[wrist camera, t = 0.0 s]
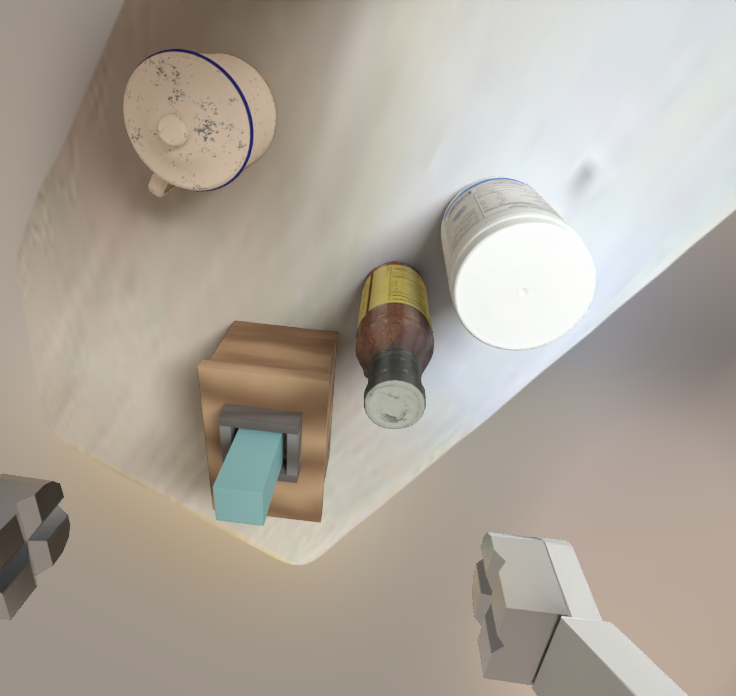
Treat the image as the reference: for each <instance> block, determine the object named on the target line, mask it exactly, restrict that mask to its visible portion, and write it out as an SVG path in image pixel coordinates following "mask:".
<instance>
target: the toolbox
mask: <svg viewBox="0 0 736 696" xmlns="http://www.w3.org/2000/svg"><path fill="white" fill-rule="evenodd" d="M337 333H338V332H329V331H321V330H312V329H303V328H294V327H286V326H277V325H268V324H260V323H251V322H242V321H234V323H233V324H232V326H231V327H230V329H229V330H228V332H227V333H226V335H225V337H224V338H223V340H222V341H221V343H220V344H219V346H218V347H217V349H216V350H215V352H214V354H213V355H212V357H211V358H210V360H202V361H201V362H200V364H199V365H198V376H199V385H200V394H201V404H202V413H203V422H204V431H205V440H206V449H207V459H208V468H209V477H210V486H211V495H212V504H213V510H215V503H214V494H213V485H214V483H215V481H216V478H217V476H218V474H219V472H220V470H221V467H222V465H223V463H224V461H225V458H226V456H227V454H228V452H229V450H230V447H231V445H232V443H233V441H234V438H235V436H236V434H237V432H238V429H239V428H244V429H252V430H261V431H269V432H278V433H285V457H284V460H283V463H282V466H281V470H280V473H279V476H278V480H277V483H276V486H275V489H274V493H273V496H272V499H271V502H270V506H269V509H268V512H267V516H271V517H279V518H287V519H296V520H304V521H312V522H321V517H322V507H323V491H324V481H325V476H326V471H327V465H328V460H329V452H330V437H331V422H332V407H333V392H334V378H335V363H336V348H337Z"/></svg>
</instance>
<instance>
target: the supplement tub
mask: <svg viewBox="0 0 736 696" xmlns="http://www.w3.org/2000/svg"><path fill="white" fill-rule="evenodd" d="M441 242H442V248H443V254H444V260H445V266H446V272H447V278H448V284H449V290H450V295H451V300H452V303H453V306H454V308H455V311H456V313H457V315H458V317H459V319H460V321H461V323H462V324H463V326H464V327H465V328H466V329H467V330H468V332H469V333H470V334H472V335H473V336H474V337H475V338H477V339H478V340H480V341H481V342H483V343H485V344H487V345H490V346H493V347H496V348H500V349H505V350H527V349H533V348H537V347H540V346H543V345H546V344H548V343H551V342H553V341H555V340H557V339H558V338H560V337H562V336H563V335H564V334H566V333H567V332H568V331H570V330H571V329H572V328H573V327H574V326H575V325H576V324H577V323H578V322H579V321H580V319H581V318H582V317H583V315H584V314H585V312H586V311H587V309H588V307H589V305H590V303H591V300H592V298H593V294H594V290H595V280H596V276H595V267H594V264H593V260H592V258H591V255H590V253H589V252H588V250H587V248H586V246H585V244H584V243H583V241H582V240H581V238H580V237H579V236H578V234H577V233H576V232H575V231H574V230H573V229H572V228H571V227H570V226H569V225H568V224H567V223H566V222H565V221H564V219H563V218H562V217H561V216H560V215H559V214H558V213H557V212H556V211H555V210H554V209H553V208H552V207H551V206H550V205H549V204H548V203H547V202H546V201H545V200H544V199H543V198H542V197H541V196H540V195H539V194H538V193H537V192H536V191H535V190H534V189H533V188H532V187H530V186H529V185H528V184H526V183H525V182H523V181H521V180H518V179H515V178H512V177H507V176H493V177H487V178H483V179H480V180H478V181H476V182H473V183H471V184H470V185H468V186H466V187H465V188H464V189H462V190H461V191H460V192H459V193H458V194H457V195H456V196H455V197H454V198H453V200H452V201H451V203H450V204H449V206H448V207H447V209H446V212H445V214H444V217H443V220H442V224H441Z"/></svg>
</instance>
